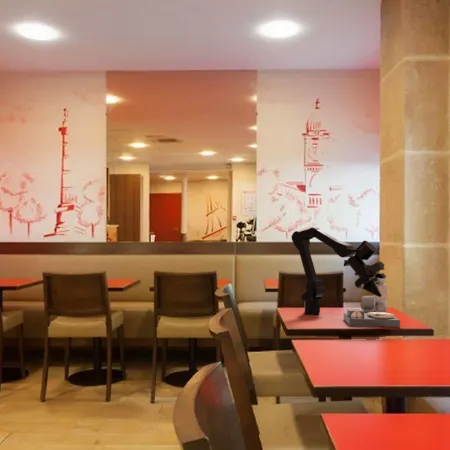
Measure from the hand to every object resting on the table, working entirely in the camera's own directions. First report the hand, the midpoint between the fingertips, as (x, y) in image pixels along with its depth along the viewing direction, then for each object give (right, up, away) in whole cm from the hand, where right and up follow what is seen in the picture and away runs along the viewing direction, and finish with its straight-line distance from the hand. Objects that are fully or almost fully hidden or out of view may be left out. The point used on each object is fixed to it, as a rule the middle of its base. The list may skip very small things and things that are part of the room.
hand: (383, 295), depth 210 cm
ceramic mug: (+4, -13, +34) cm, 37 cm away
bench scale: (-5, -12, +1) cm, 13 cm away
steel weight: (-1, -7, +1) cm, 7 cm away
